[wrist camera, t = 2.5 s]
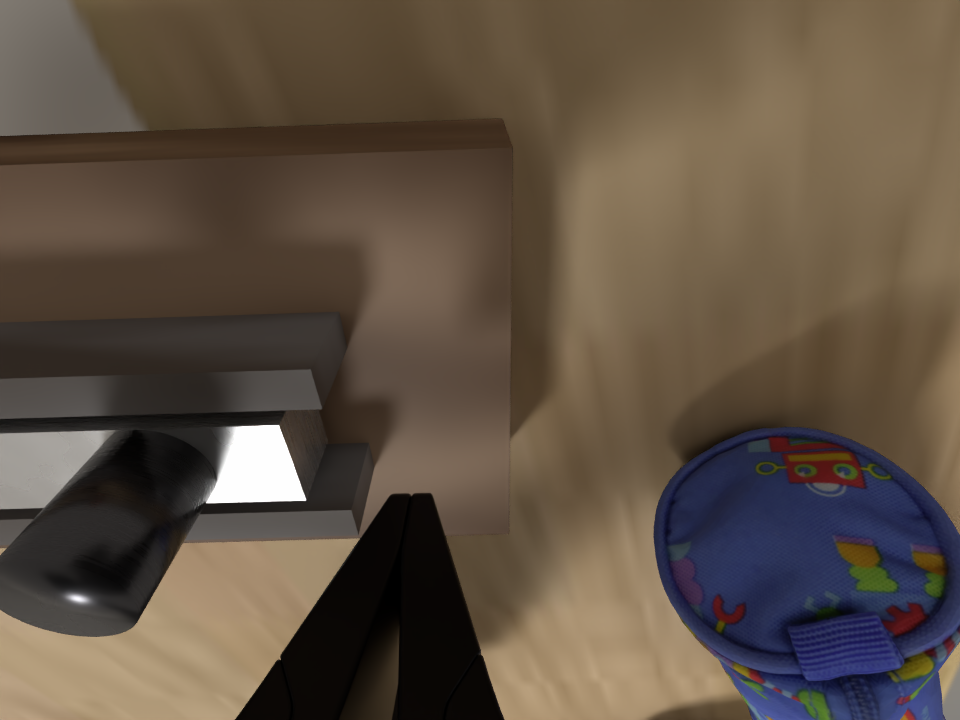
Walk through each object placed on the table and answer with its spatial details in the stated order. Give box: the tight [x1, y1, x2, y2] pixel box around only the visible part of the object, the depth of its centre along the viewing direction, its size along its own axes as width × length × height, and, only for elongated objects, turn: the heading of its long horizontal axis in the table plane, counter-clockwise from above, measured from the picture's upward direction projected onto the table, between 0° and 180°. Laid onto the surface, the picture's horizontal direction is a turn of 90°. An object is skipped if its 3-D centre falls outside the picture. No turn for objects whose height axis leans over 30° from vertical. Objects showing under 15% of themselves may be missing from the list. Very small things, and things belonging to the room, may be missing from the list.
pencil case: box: [654, 427, 960, 720], centre depth 20 cm, size 22×9×10 cm, turn 30°
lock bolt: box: [0, 409, 328, 637], centre depth 10 cm, size 12×2×5 cm, turn 92°
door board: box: [0, 119, 513, 548], centre depth 13 cm, size 12×18×6 cm, turn 92°
